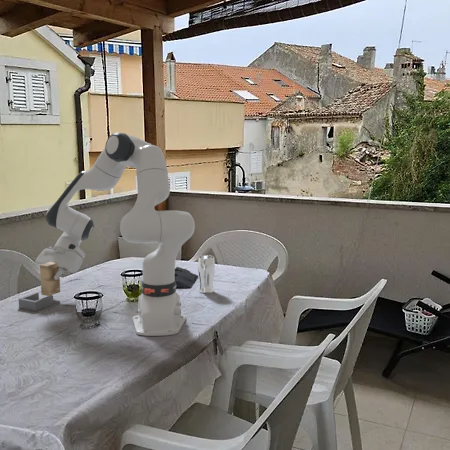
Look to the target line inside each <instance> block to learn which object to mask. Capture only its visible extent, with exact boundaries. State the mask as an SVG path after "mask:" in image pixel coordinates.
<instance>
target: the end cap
mask: <svg viewBox="0 0 450 450" xmlns="http://www.w3.org/2000/svg"><path fill="white" fill-rule="evenodd" d="M53 305H54V294H53V295H50V296H45V297H43V298H40V294H39V292H34V293H32V294H29V295H26V296H23V297H20V298H18V308H20V309H24V310H28V311H35V312H37V311H39V310H42V309H45V308H47V307H50V306H53Z"/></svg>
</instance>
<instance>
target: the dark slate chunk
mask: <svg viewBox="0 0 450 450" xmlns="http://www.w3.org/2000/svg"><path fill="white" fill-rule="evenodd" d="M198 279H199V274H198V275H197V274H196V273H193V272H191V271H190V270H188V269H186V268H183V267H179V266H175V280H176V289H192V288H193V286H194V285H195V284H196V282H197V280H198Z"/></svg>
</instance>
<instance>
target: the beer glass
mask: <svg viewBox="0 0 450 450" xmlns="http://www.w3.org/2000/svg"><path fill="white" fill-rule="evenodd" d="M215 265H216V264H215V256H214V255H212V254H211V255H210V254H204V255H199V256H198V265H197V268H198V269H197V271H198V279H199V293H201V294H212V293H214V290H215V289H214V285H213V284H214V283H213V282H214V277H215V267H216V266H215Z"/></svg>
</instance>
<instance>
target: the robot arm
mask: <svg viewBox="0 0 450 450" xmlns="http://www.w3.org/2000/svg"><path fill="white" fill-rule="evenodd" d="M127 167H129V168H133V169H136V170H135V171H136V172H135V173H136V181H137V182H136V183H137V197H136V201H135V203H134V205H133V207H132V208H131V209H130V210H129V211H128V212H127V213H126V214H125V215H124V216H123V217H122V219H121V220H120V224H119V232H120V235H121V237H122V238H123V240H124V241H126V242H127V243H133V244H138V245H139V244H141V245H142V244H157V243H159V244H158V247H157V248H156V249H154V250H153V251H152V252H150V253H149V254H147V255H146V256H145V257H144V259H143V260H142V281H141V294H140V295H139V296H138V297H137V298H138V299H137V300H138V301H137V302H138V304H137V305H138V308H137V310H136V313H137V315H134V316H133V317H132V324H133V327H134V331H135V334H136V335H140V336H145V337H146V336H147V337H151V336H152V337H154V336H155V337H156V336H157V337H159V336H161V337H162V336H163V337H164V336H170V335H176V334H179V332H180V331H181V329H182V327H183V325H184V323H185V322H186V320H187V316H186V314H182V309H181V305H182V302H181V296H180V294H178V293H177V292H176V291H177V287H176V280H175V268H176V260H177V257H178V253H179V251H180V249H181V248H182V246H183V245H184V244H185V243H186V242H187V241H189V239H191V238H192V236H193V234H194V232H195V230H196V229H195V228H196V222H195V219H194V218H193V216H192V214H191V213H190V212H189V211H188V212H187V211H182V210H177V209H175V210H172V209H171V210H169V209H168V210H156V208H155V207H156V206H157V205H159V204H161V203H162V202H164V201H166V200H167V199H168V198H169V196H170V193H171V188H170V187H171V186H170V180H169V173H168V166H167V162H166V158H165V155H164V152H163V150H162V148H160V147H159V146H158V145H154V144H153V143H150V142H147V141H145V140H144V139H141V138H140V137H137V136H134V135H131V134H126V133H125V132H113V133H112V134H111V135H109V137H108V138H107V140H106V142H105V146H104V149H103V150H102V151H101V153H100V154H99V155H98V157H97V158H96V160H95V162H94V164H93V166H91V168H89V169H88V170H82V171H80V172H79V173H78V174H77V175H76V176H75V177H74V179H73V180H72V181H71V182H70V184H69V185H68V186H67V187H66V188H65V189H64V191H62V193H61V195H60V196H59V197H58V199H57V200H56V201H55V202H54V203H52V205H50V207H49V208H48V210H46V214H45V220H46V223H47V224H48V225H49V226H51V227H52V228H56V229H58V230H61V231H62V234H61V235H60V236H59V238H58V239H57V241H56V243H55V244H54V246H53V247H52V246H48V247H46V248H44V249H43V250H42V251H41V252H40V254H38V256H37V257H36V259H35V260H34V262H35V263H34V264H35V265H37V267H38V268H40V265H41V264H45V263H48V262H54V263H58V264H57V267H59V269H58V270H59V271H58V272H57V273H56V274H53V276H52V278H53V279H55V280H57V279H58V277H59V276H62V275H63V274H65V272H68V273H74V274H75V273H76V272H78V271H79V270H80V268H81V266H82V265H83V261H84V259H85V257H86V253H85V252H84V251H83V249H81V248H80V246H81V243H82V242H83V241H86V240H88V239H89V236H90V234H91V232H92V231H93V229H94V228H95V224H94V221H93V219H92V218H91V217H90V216H88V215H87V214H85V213H82V212H80V211H78V210H76V209H74V208H72V207H71V206H69V205H68V204H69V203H70V201H71V200H72V199H73V198H74V196H76V194H77V192H78V191H81V190H89V191H90V190H91V191H97V192H105V191H110V190H112V189H114V188H115V187H116V185H117V184H118V182H119V181H120V179H121V178H122V175H123V173H124V172H125V169H126V168H127Z"/></svg>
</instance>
